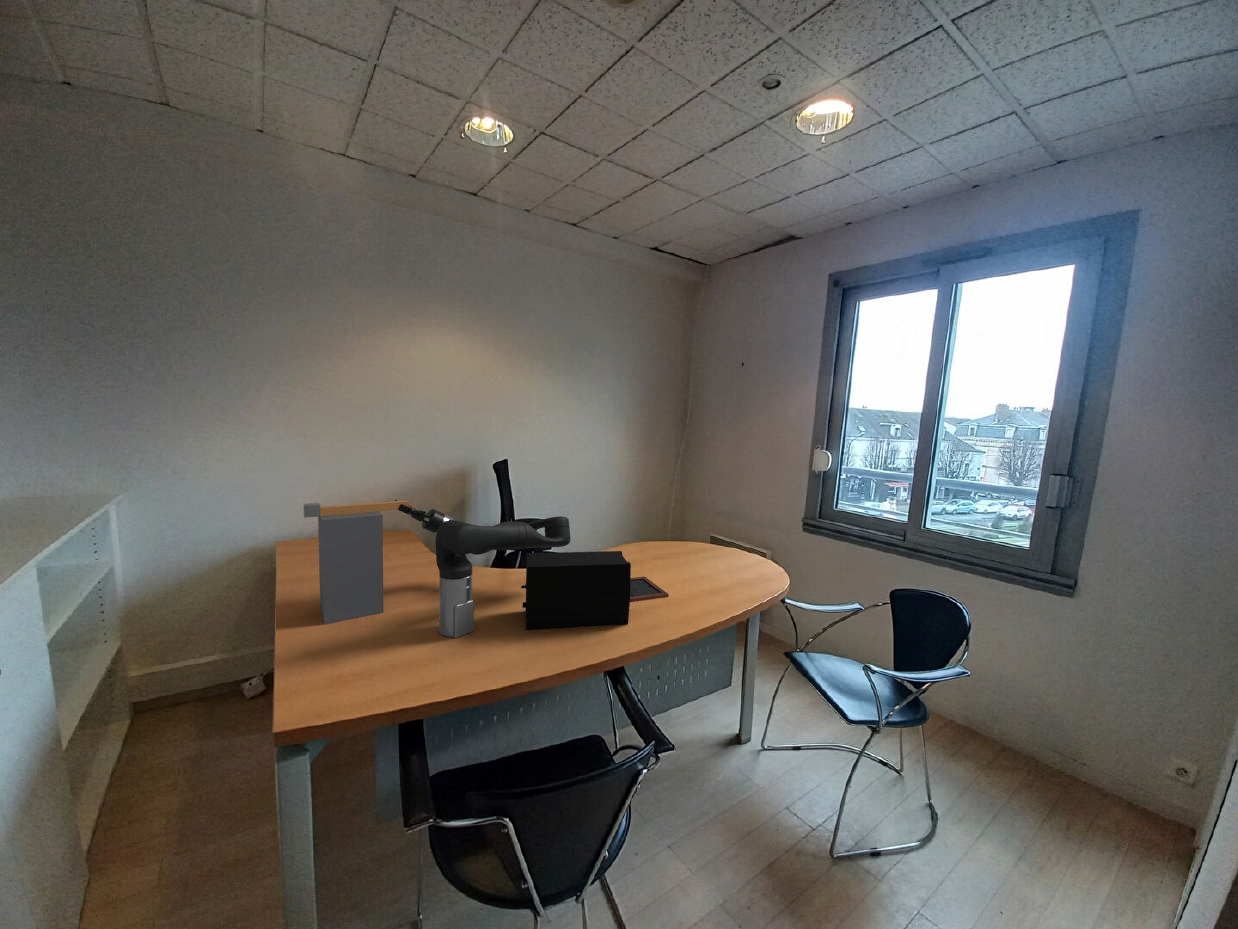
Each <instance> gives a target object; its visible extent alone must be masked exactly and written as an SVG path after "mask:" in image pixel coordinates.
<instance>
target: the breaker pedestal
mask: <svg viewBox="0 0 1238 929" xmlns="http://www.w3.org/2000/svg"><path fill="white" fill-rule="evenodd" d="M383 521H384V520H383V514H382V513H381V511H377V512H365V513H352V514H340V515H327V516H319V517H317V524H318V525H317V526H318V527H317V528H318V531H317V532H318V562H319V563H318V564H319V565H318V566H319V567H318V569H319V570H318V571H319V605H320V611H321V615H322V619H323V623H324V625H328V624H333V623H338V622H344V621H348V620H353V619H358V618H362V617H368V616H373V615H378V614H383V613H384V612H385V611H384V606H385V605H384V530H383V528H384V527H383V526H384V525H383V524H384V522H383Z"/></svg>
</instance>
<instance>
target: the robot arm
mask: <svg viewBox="0 0 1238 929" xmlns="http://www.w3.org/2000/svg"><path fill="white" fill-rule="evenodd" d="M394 501H399V500H398V499H394ZM397 511H399V512H402V513H404V514H406V515H408V516H409V517H411V519H414V520H415V521H418V522H421V527H422V529H423V530H426V531H429V532H431V533H433V534H435V559H436V560H435V561H436V562H435V563H436V566H437V568H438V572H439V586H438V588H439V592H438V594H439V595H438V596H439V603H438V604H439V605H438V606H439V611H438V612H439V613H438V614H439V618H438V619H439V620H438V621H439V622H438V623H439V624H438V625H439V626H438V627H439V634H440V635H441V636H444V637H448V638H451V637H452V638H454V639H456V638H459V637H462V636H464V635H467V634H469V633H472V632H474V628H475V627H474V626H475V625H474V616H475V614H474V613H475V612H474V608H475V607H474V606H475V605H474V604H475V603H474V600H473V564H472V563H471V561H470V560H469V559H468V557H467V556H466V555H469V554H471V555H475V556H477V555H478V556H480V555H483V554H486V553H489V552H491V551H510V550H513V551H514V550H523V549H532V548H563V547H566V546H569V545H570V543H571V530H570V529H571V526H570V520H569V518H568V517H567V516H562V515H561V516H560V515H558V516H551V517H547V518H543V519H538V520H534V521H530V522H524V521H518V520H517V521H512V520H511V521H510V520H509V521H504V522H500V523H498V524H495V525H477V524H472V523H471V524H470V523H468V522H463V521H460V520H457V519H454V518H453V517H451V516H450V515H447V514H446V513H443V512H442V511H439V510H437V509H435V508H431V509H430V510H428V511H426V510H424V509H423V508H419V507H417V506H415V505H411V504H408V507H407V506H405V505H403V504H400V506H399V507H398V510H397ZM540 529H544V535H543V534H541V533H540V532H538V530H540Z"/></svg>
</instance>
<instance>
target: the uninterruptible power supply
mask: <svg viewBox="0 0 1238 929" xmlns="http://www.w3.org/2000/svg"><path fill="white" fill-rule="evenodd" d="M525 560H526V563H525V564H526V567H525V583H524V585H520V588H521V589H525V601H523V602H522V607H521V608H523V609H524V608H525V632H526V631H539V630H541V631H542V630H543V631H544V630H553V629H554V630H555V629H556V630H557V629H558V630H560V629H575V628H588V627H589V628H591V627H605V626H606V627H608V626H623V625H625V626H627V625H629V619H630V617H629V616H630V605H631V602H630V583H631V578H632V577H631V576H632V575H631V572H632V571H631V568H632V563H631V562H630V561H627V559H626V558H625V557H624V555H623V551H622V550H612V551H611V550H607V551H603V550H602V551H599V550H598V551H569V552H568V551H563V552H559V551H557V552H527V553H526V559H525Z"/></svg>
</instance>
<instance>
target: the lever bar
mask: <svg viewBox="0 0 1238 929" xmlns="http://www.w3.org/2000/svg"><path fill="white" fill-rule="evenodd" d="M400 504H403V505H405V506H407V507H408V505H409V501H408V500H398V501H395V500H393V501H379V502H378V501H377V502H365V503H364V502H363V503H361V502H360V503H349V504H348V503H347V504H333V505H321V504H320V502H314V503H303V517H304V518H318V517H319V516H327V515H340V514H352V513H365V512H377V511H379V512H387V511H389V512H390V511H399V510H398V507H399V506H400Z"/></svg>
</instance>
